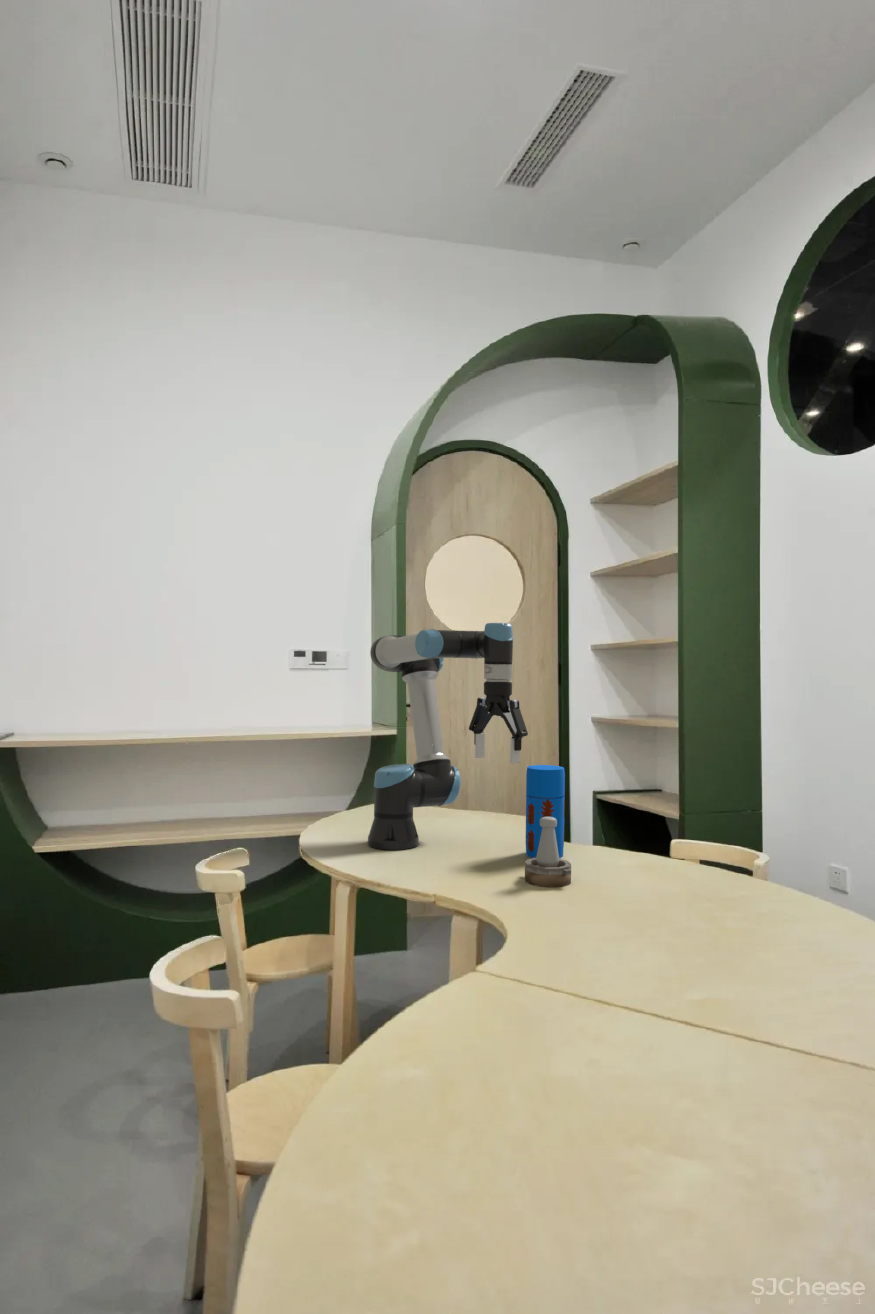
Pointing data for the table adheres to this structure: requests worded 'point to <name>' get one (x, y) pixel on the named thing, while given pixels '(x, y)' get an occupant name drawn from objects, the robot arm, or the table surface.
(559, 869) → the brown bowl with handles
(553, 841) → the salt shaker
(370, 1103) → the table surface
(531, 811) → the thermos
